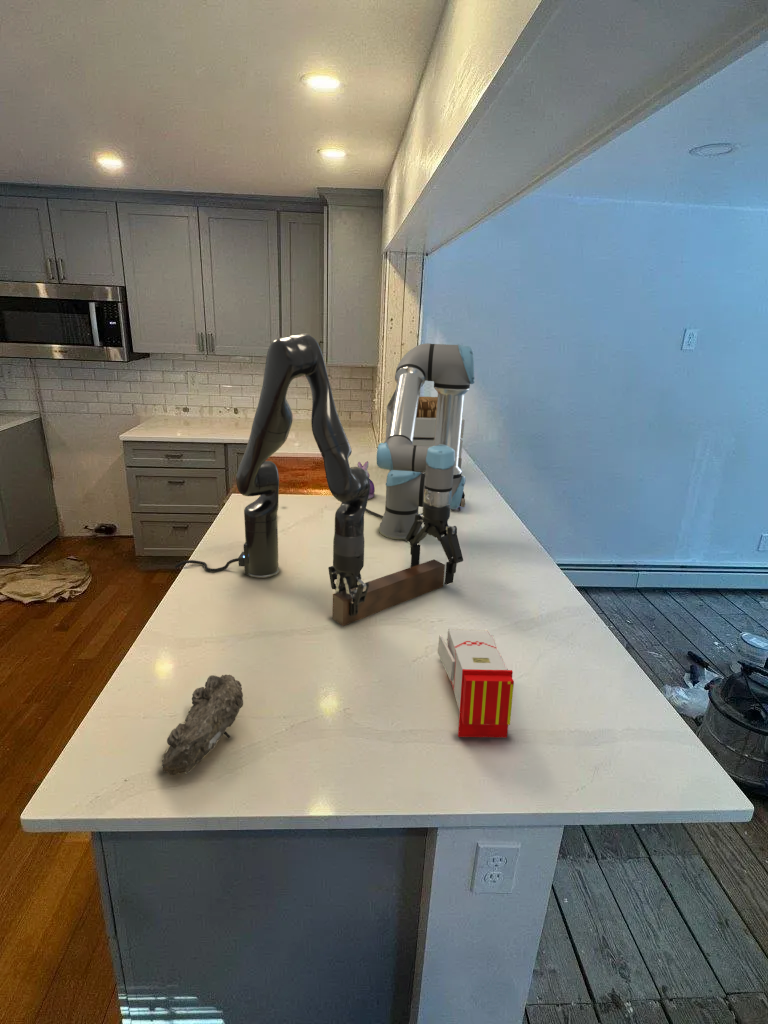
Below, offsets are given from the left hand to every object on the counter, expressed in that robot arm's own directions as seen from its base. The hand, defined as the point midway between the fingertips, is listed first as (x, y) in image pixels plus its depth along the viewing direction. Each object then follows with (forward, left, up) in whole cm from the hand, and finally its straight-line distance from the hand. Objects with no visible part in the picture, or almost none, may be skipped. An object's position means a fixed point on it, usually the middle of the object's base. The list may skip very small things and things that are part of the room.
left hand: (347, 610), depth 143 cm
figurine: (-1, +99, -2) cm, 99 cm away
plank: (+11, +10, -2) cm, 15 cm away
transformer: (+23, +139, -2) cm, 141 cm away
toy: (+28, -27, -2) cm, 39 cm away
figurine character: (+36, +92, -2) cm, 98 cm away
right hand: (+22, +20, +2) cm, 30 cm away
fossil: (-21, -43, -2) cm, 49 cm away
